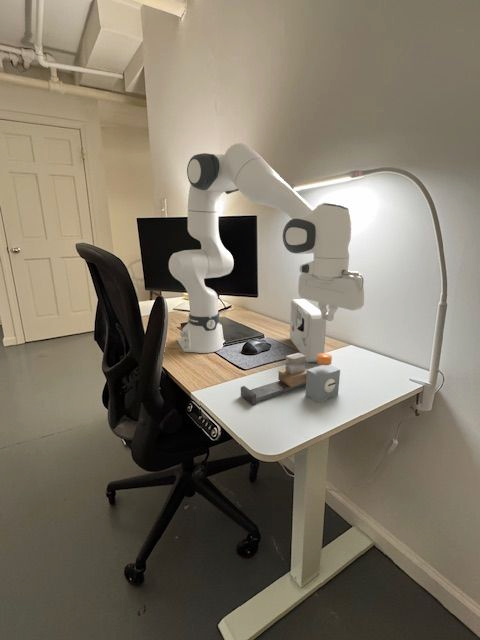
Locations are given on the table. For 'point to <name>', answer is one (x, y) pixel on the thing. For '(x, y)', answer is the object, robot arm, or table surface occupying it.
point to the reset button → (324, 359)
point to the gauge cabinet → (322, 382)
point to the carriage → (294, 370)
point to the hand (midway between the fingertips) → (327, 319)
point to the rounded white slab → (307, 329)
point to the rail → (267, 391)
